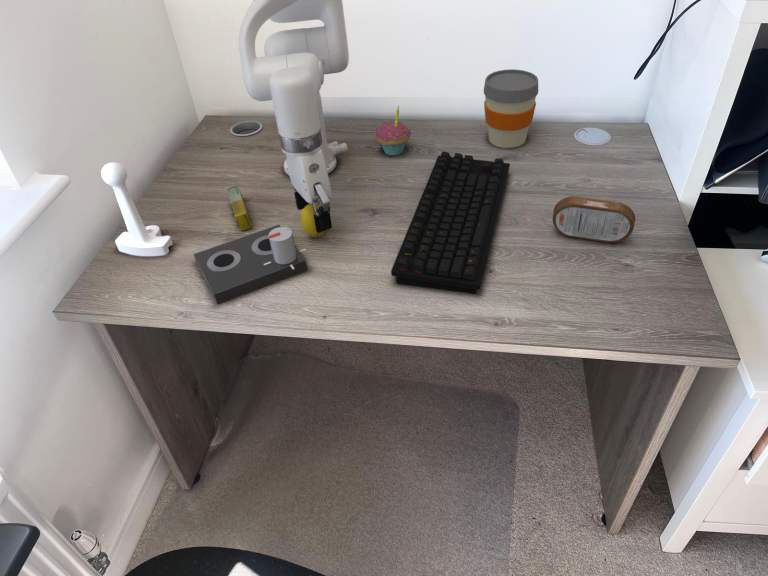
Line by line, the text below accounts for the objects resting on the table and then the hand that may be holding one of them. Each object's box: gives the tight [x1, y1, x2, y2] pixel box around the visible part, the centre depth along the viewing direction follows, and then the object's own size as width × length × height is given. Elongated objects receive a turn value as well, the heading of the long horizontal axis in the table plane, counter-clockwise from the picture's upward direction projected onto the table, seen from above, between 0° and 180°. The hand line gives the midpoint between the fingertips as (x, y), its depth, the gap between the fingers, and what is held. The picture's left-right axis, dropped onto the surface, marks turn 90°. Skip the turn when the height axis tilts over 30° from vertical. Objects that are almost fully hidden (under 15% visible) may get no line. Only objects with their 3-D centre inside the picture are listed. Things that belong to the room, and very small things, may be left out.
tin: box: [552, 195, 636, 244], centre depth 118 cm, size 15×3×8 cm, turn 71°
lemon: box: [300, 203, 328, 238], centre depth 124 cm, size 6×6×8 cm
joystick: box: [100, 161, 174, 257], centre depth 121 cm, size 11×8×20 cm
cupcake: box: [374, 105, 412, 156], centre depth 147 cm, size 9×8×12 cm
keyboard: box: [390, 150, 511, 295], centre depth 125 cm, size 42×16×5 cm, turn 165°
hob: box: [193, 224, 308, 305], centre depth 119 cm, size 19×15×3 cm
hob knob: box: [268, 226, 297, 264], centre depth 116 cm, size 4×4×6 cm
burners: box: [207, 235, 272, 272], centre depth 120 cm, size 15×6×1 cm, turn 118°
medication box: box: [226, 185, 253, 232], centre depth 132 cm, size 12×3×4 cm, turn 19°
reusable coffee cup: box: [483, 68, 539, 149], centre depth 147 cm, size 12×13×15 cm
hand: (314, 218), depth 123 cm, fingers open, 9 cm apart
